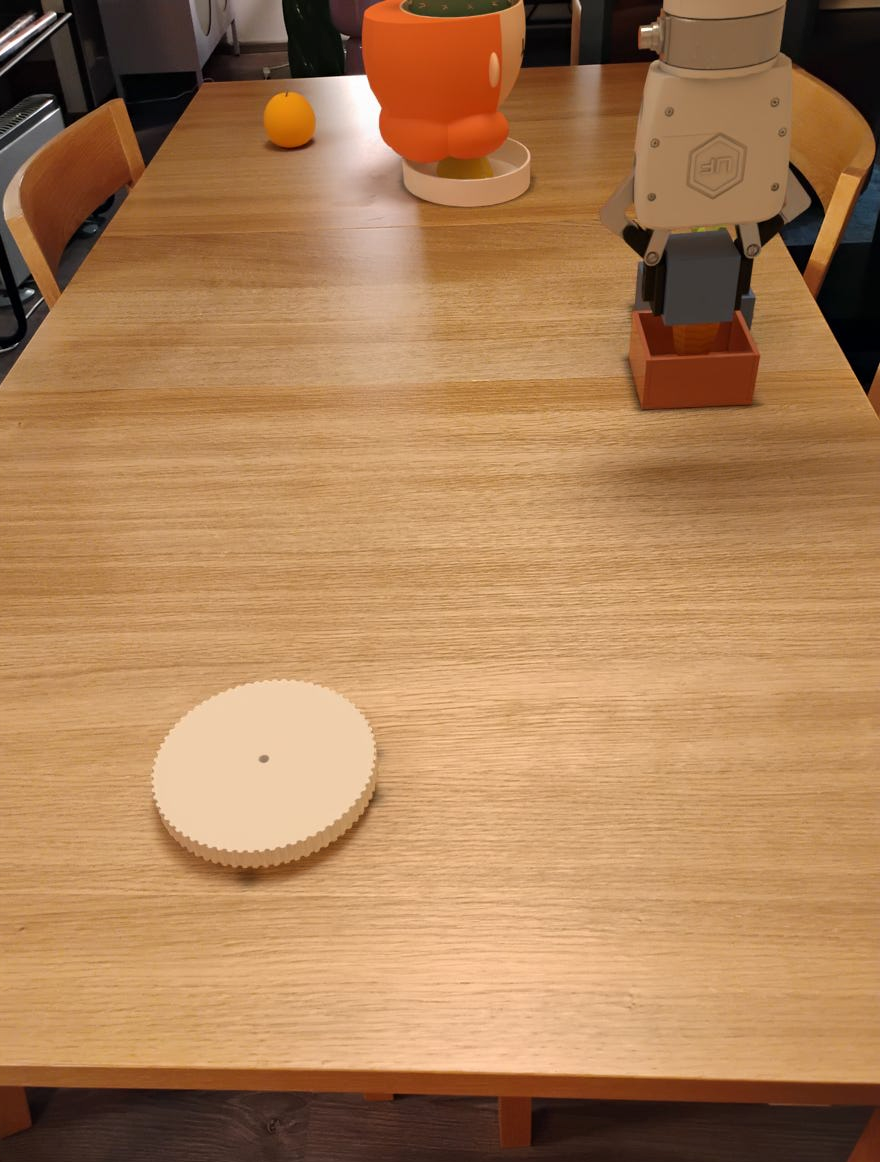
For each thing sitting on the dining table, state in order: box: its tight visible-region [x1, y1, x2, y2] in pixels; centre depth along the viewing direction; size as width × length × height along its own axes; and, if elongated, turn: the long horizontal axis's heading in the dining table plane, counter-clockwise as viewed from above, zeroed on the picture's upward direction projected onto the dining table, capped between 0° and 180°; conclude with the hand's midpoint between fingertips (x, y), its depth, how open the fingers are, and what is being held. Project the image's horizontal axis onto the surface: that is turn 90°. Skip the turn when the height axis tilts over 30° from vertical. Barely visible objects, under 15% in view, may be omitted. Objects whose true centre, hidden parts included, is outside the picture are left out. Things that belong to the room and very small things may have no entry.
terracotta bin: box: [628, 310, 761, 410], centre depth 97 cm, size 10×10×5 cm
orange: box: [263, 91, 317, 149], centre depth 159 cm, size 8×8×8 cm
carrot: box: [673, 225, 728, 356], centre depth 93 cm, size 5×5×15 cm
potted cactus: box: [361, 0, 531, 208], centre depth 131 cm, size 22×22×35 cm
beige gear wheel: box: [150, 678, 379, 869], centre depth 64 cm, size 14×14×2 cm
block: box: [661, 229, 741, 326], centre depth 77 cm, size 5×5×5 cm
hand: (693, 303), depth 78 cm, fingers closed on block, 5 cm apart
